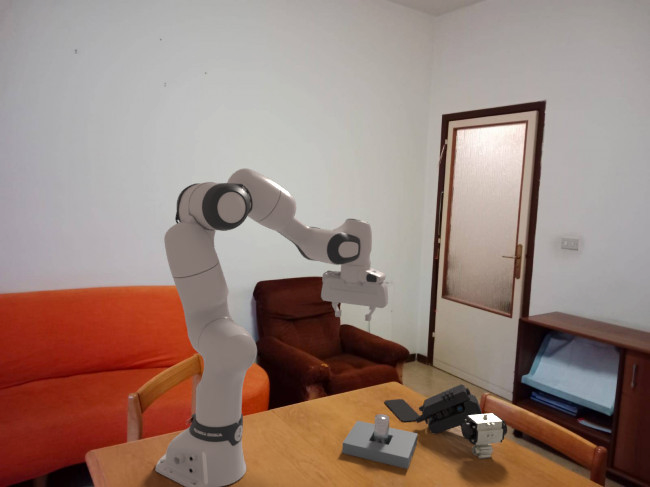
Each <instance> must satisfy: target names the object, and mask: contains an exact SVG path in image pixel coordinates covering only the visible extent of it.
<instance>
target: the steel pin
mask: <svg viewBox="0 0 650 487" xmlns="http://www.w3.org/2000/svg"><path fill="white" fill-rule="evenodd" d="M374 424H375V425H374V441H373V442H378V443H382V444H386V445H388V433H389V427H390V416H388V415H387V414H383V413H381V414H380V413H379V414H376V415H375V416H374Z"/></svg>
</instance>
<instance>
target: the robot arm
mask: <svg viewBox="0 0 650 487" xmlns="http://www.w3.org/2000/svg"><path fill="white" fill-rule="evenodd" d="M296 212H297V202H296V199H295V198H294V197H293V195H292V194H291V193H290V192H289V191H287V189H286V188H284V187H282V186H281V185H280V184H278V183H277V182H275V181H274V180H272V179H270V178H269V177H267V176H265V175H264V174H262V173H260V172H258V171H255V170H254V169H253V170H252V169H250V168H239V169H238V170H236V171H235V172H234V173H232V174H231V175H230V176H229V178H228V180H227V182H221V183H220V182H213V181H209V182H208V181H206V182H200V183H193V184H190V185H188V186H186V187H184V188H183V190H181V191H180V193H179V194H178V197H177V200H176V212H175V217H174V218H175V222H176V223H175V224H174V225H172V226H170V227H169V229H167V231H166V232H165V234H164V238H163V239H164V248H165V252H166V253H165V254H166V259H167V263H168V267H169V270H170V273H171V277H172V279H173V282H174V285H175V287H176V291H177V293H178V296H179V299H180V302H181V305H182V309H183V313H184V319H185V320H184V321H185V326H186V330H187V336H188V339H189V340H188V341H189V342H190V344H191V346H192V349H194V350H195V351H196V352H197V353H198V354H199V355H200V356H201V357H202V359H203V371H202V372H203V373H202V376H201V379H200V382H199V383H198V384H197V385H196V388H195V391H196V392H195V412H194V413H193V414H192V415H191V416H190V417H189V418H188V419H187V420H186V421H185V422H186V423H185V425H186V426H188V425H189V424H190V426H189V427H187V428H186V429H184V430H182V432H180V433H178V434H177V436H175V437H173V439H171V441H170V442H169V444H168V445H167V449H166V452H165V454H163V455H162V457H160V458H159V459H158V461H157V463H156V465H155V472H156V473H158V474H161V475H162V476H164V477H166V478H168V479H169V480H172V481H174V482H176V483H178V484H179V485H181V486H184V487H225V486H228V485H231V484H234V483H235V482H238V480H241V479H242V477H243V476H245V474H246V472H247V464H246V461H245V457H244V451H243V443H242V442H243V441H242V439H243V432H244V431H243V430H244V415H243V413H242V405H243V386H244V381H245V377H246V374H247V371H248V370H249V369H250V368H251V367H252V366H253V364H254V363H255V361H256V358H257V355H258V348H257V347H258V346H257V344H256V341H255V340H254V338H253V337H252V335H251V334H250V333H249V331H248V330H247V329H246V328H244V327H243V326H241V325H239V324H238V323H237V322H235V321H234V319H233V318H232V316H231V315H230V314H231V313H230V312H229V305H228V295H229V287H228V284H227V281H226V278H225V275H224V272H223V268H222V266H221V262H220V259H219V256H218V254H217V251H216V247H215V235H216V231H220V232H226V231H227V232H228V231H231V230H234V229H236V228H238V227H240V226H241V225H242V224H243V223H244V222H245V220H246V219H247V218H250V219H251V220H253V221H254V222H256V223H257V224H259V225H260V226H263V227H265V228H266V229H267V228H268V229H269V230H272V231H275V232H277V233H279V234H280V235H281V236H283V237H284V238H285V239H287V240H288V241H290V242H291V243H292V244H294V246H295V247H296V249H297V250H298V252H299V253H300V255H301V256H302V257H303V258H304V259H306V260H308V261H312V262H313V261H314V262H320V263H325V264H331V265H334V266H339V265H340V271H336V270H327V271H325V272H323V274H322V276H321V277H322V280H321V281H322V288H321V292H320V298H321V300H322V301H324V302H325V301H326V302H331V306H332V308H333V310H334V316H335V317H337V318H341V317H342V310H341V309H339V306H338V305H339V304H340V303H341V304H345V305H346V304H347V305H355V306H364V307H369V308H368V309H369V313H366V314H365V315H364V321H367V322H371V321H372V315H373V313H374V312H375V311H376V308H379V309H384V308H385V307H386V306H388V304H389V290H388V285H387V283H386V282H385V280H386V274H385V273H384V272H381V271H379V270H377V269H375V268H372V266H371V264H372V262H371V258H370V256H371V252H372V248H373V247H372V246H373V245H372V244H373V236H372V235H373V234H372V233H373V232H372V227H371V223H369V222H368V221H365V220H362V219H358V218H357V219H356V218H346V219H345V221H344V222H343V223H342V225H339V226H337V227H336V228H334V229H333V230H332V229H325V228H320V227H316V226H315V227H314V226H308V225H306V224H304V223H303V222H302V221H301V220H299V219H298V218H297V217H295V215H296V214H297V213H296Z"/></svg>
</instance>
